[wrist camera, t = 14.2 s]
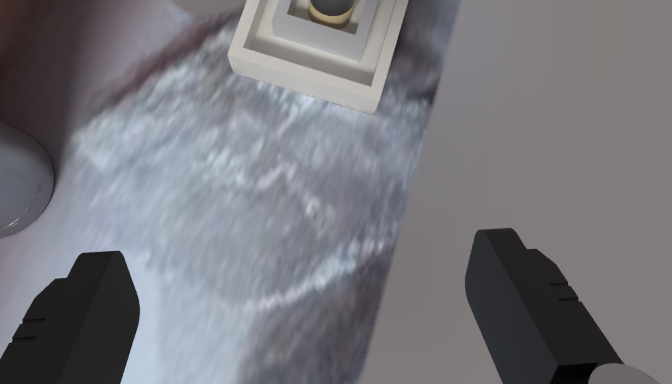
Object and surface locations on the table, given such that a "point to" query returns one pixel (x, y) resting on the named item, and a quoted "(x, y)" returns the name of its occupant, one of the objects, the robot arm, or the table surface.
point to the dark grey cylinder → (331, 12)
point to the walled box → (319, 50)
